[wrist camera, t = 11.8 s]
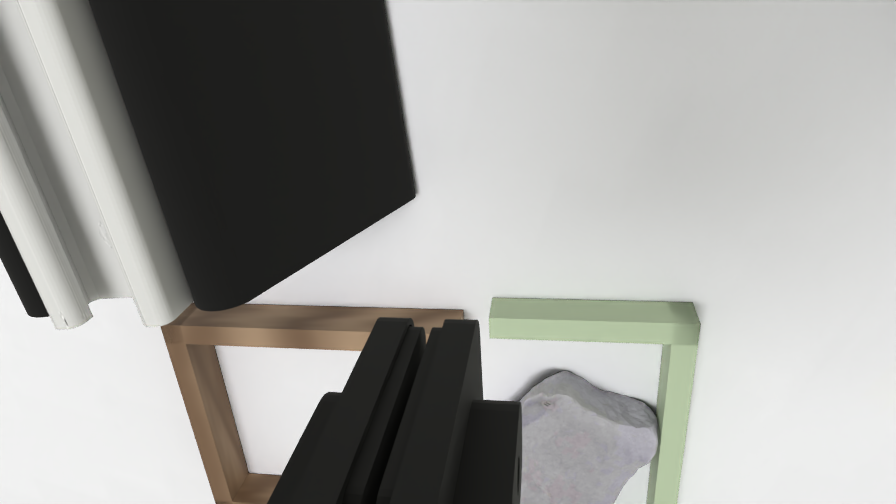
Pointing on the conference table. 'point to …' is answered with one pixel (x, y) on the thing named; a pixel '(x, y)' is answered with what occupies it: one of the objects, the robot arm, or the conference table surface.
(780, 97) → the conference table surface
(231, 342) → the brown wooden u frame
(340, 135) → the device stand
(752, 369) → the conference table surface
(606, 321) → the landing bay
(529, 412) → the stone block
